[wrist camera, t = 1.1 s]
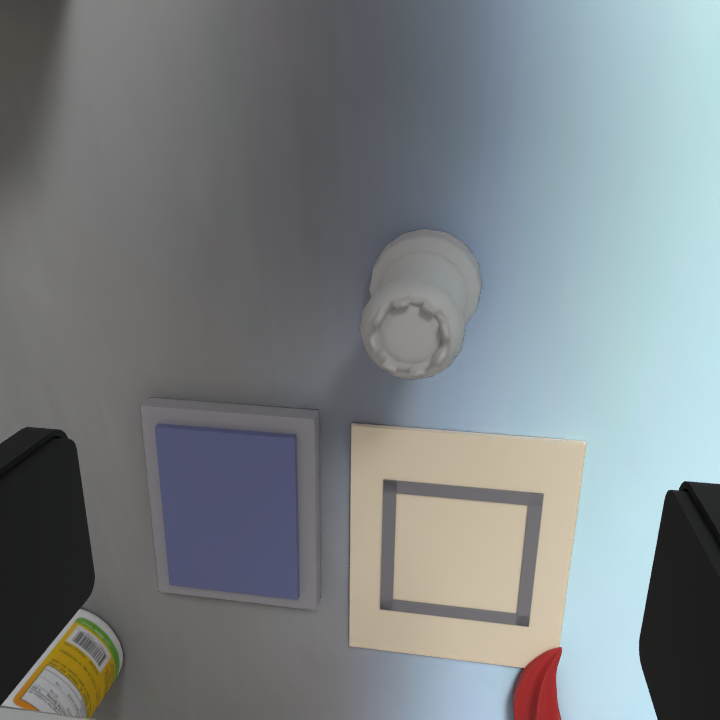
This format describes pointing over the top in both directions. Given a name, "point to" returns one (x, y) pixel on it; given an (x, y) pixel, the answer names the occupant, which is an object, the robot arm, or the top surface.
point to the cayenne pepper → (538, 689)
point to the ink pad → (235, 500)
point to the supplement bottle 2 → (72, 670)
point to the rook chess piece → (420, 303)
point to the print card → (461, 542)
